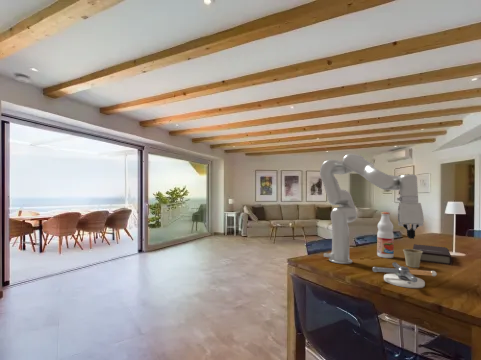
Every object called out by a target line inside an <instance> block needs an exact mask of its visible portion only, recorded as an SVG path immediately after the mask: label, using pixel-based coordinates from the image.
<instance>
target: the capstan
mask: <svg viewBox="0 0 481 360" xmlns="http://www.w3.org/2000/svg"><path fill="white" fill-rule="evenodd" d="M391 265H392V267H378V266H373V267H372V268H371V269H372V272H374V273H377V272H379V273H388V274H395V273H398V278H400V279H403V280H411V281H412V282H417V278H418V277H417V275H418V276H419V275H420V276H432V277H436V276H437V272H436V271H435V270H420V269H410V268H409V266H404V265H403V266H402V265H400V264H398V263H397V262H396V261H393V262H392V264H391ZM393 267H394V268H393ZM415 275H416V276H415ZM416 277H417V278H416Z"/></svg>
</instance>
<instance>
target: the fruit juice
mask: <svg viewBox="0 0 481 360" xmlns="http://www.w3.org/2000/svg"><path fill="white" fill-rule="evenodd" d="M390 214H391V212H389V211H387V212H386V211H382V212H381V211H380V215H381V216H380V220H379V222H378V223H377V229H378V230H377V234H376V236H377V237H376V242H377V243H376V244H377V245H376V255H377V257H379V258H385V259H392V258H394V255H395V250H394V249H395V247H394V246H395V242H394V241H395V234H394V231H393V230H394V224H393V222H392V221H391V218H390V216H391V215H390Z"/></svg>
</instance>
